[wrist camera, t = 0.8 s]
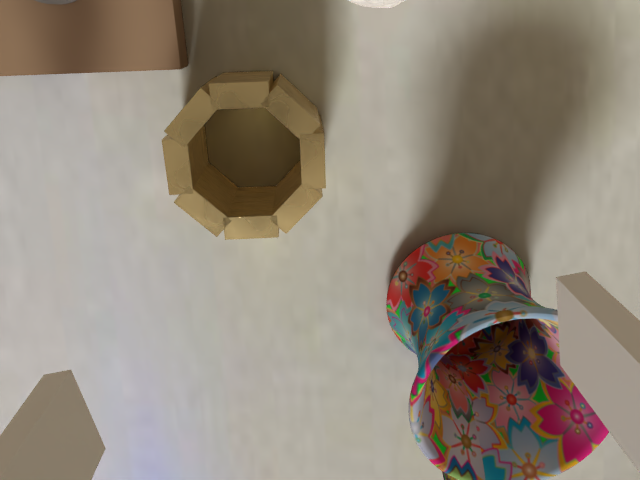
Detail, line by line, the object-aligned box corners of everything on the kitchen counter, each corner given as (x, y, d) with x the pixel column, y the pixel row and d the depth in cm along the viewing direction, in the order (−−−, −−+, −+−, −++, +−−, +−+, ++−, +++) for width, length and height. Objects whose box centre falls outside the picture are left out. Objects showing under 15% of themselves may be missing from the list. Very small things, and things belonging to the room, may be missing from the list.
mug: (400, 206, 32) (446, 292, 22) (553, 237, 33) (662, 332, 23) (351, 380, 36) (370, 518, 26) (487, 403, 37) (556, 543, 27)
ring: (194, 208, 31) (176, 241, 27) (177, 74, 29) (154, 85, 24) (323, 202, 32) (327, 234, 27) (318, 68, 29) (322, 79, 24)
